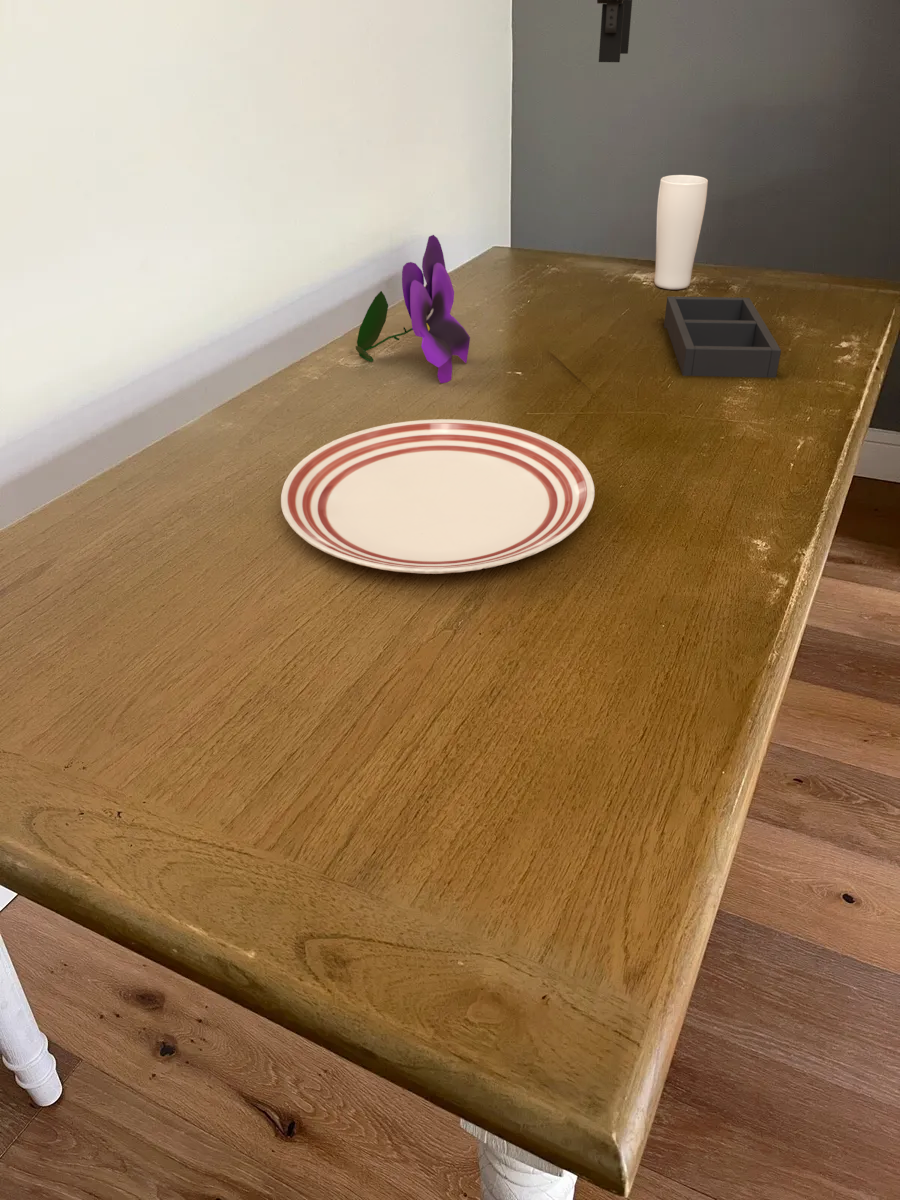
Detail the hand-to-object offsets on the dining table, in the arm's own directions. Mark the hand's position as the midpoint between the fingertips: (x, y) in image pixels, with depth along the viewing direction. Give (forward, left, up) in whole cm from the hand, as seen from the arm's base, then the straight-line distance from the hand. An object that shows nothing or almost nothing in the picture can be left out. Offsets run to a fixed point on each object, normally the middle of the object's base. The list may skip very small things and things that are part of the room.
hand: (613, 57), depth 132 cm
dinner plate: (+43, +66, -30) cm, 85 cm away
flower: (+37, +29, -30) cm, 56 cm away
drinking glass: (-9, +7, -30) cm, 32 cm away
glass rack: (0, +37, -30) cm, 48 cm away
